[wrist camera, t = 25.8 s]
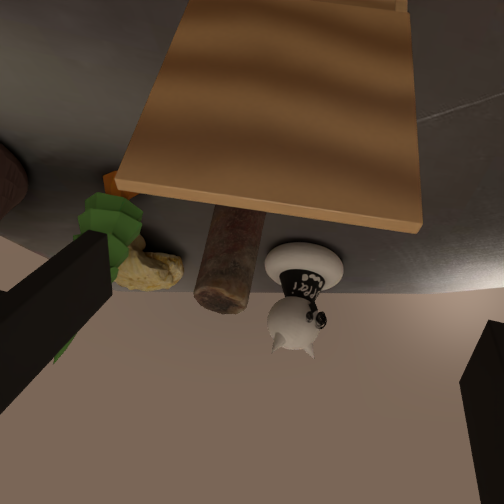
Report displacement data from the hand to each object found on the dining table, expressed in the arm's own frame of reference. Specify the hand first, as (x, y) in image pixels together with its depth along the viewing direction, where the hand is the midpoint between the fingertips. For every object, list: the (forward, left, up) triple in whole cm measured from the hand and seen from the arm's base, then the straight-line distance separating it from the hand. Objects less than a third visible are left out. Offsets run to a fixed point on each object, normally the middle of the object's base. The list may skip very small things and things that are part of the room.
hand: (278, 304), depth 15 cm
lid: (+3, +1, -13) cm, 14 cm away
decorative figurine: (+50, +36, -34) cm, 70 cm away
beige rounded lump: (+70, +12, -34) cm, 79 cm away
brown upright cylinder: (+37, +15, -34) cm, 53 cm away
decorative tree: (+52, +1, -34) cm, 62 cm away
